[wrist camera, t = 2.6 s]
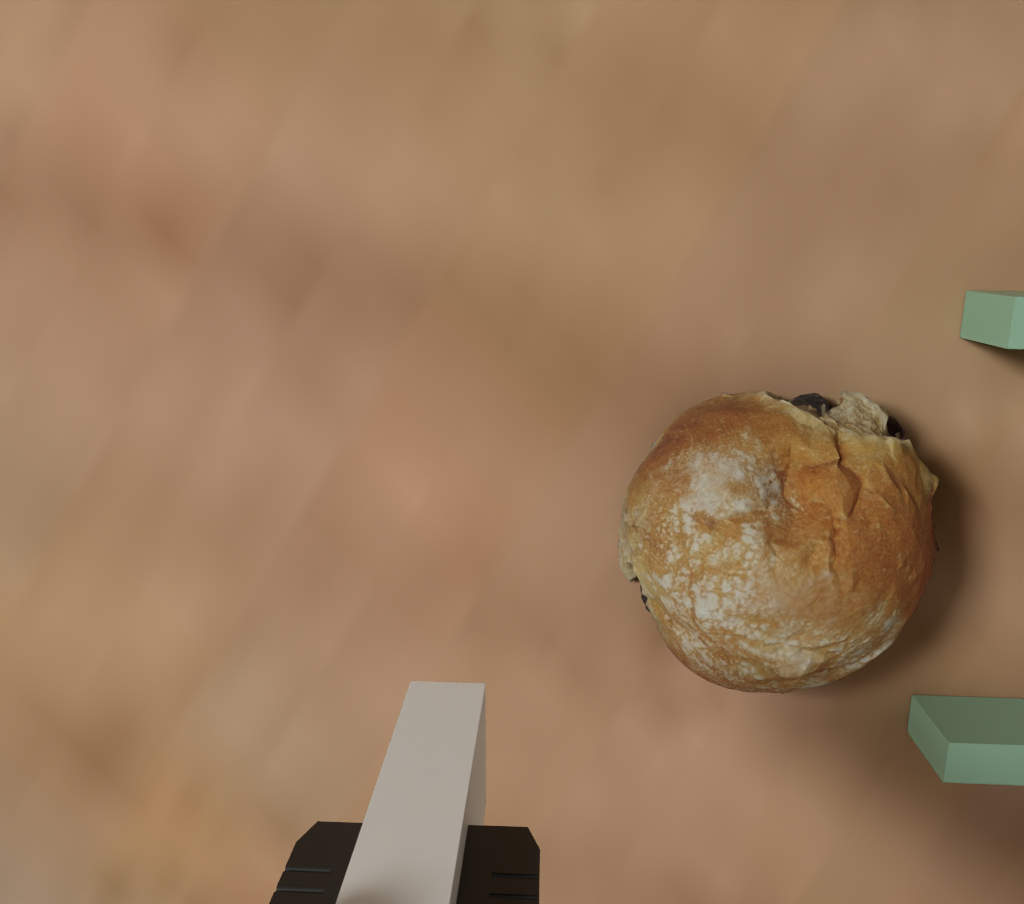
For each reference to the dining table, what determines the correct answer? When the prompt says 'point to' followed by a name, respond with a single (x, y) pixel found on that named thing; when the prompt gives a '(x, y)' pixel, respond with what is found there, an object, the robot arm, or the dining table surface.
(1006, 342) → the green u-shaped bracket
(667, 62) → the dining table surface
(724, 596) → the bread roll
